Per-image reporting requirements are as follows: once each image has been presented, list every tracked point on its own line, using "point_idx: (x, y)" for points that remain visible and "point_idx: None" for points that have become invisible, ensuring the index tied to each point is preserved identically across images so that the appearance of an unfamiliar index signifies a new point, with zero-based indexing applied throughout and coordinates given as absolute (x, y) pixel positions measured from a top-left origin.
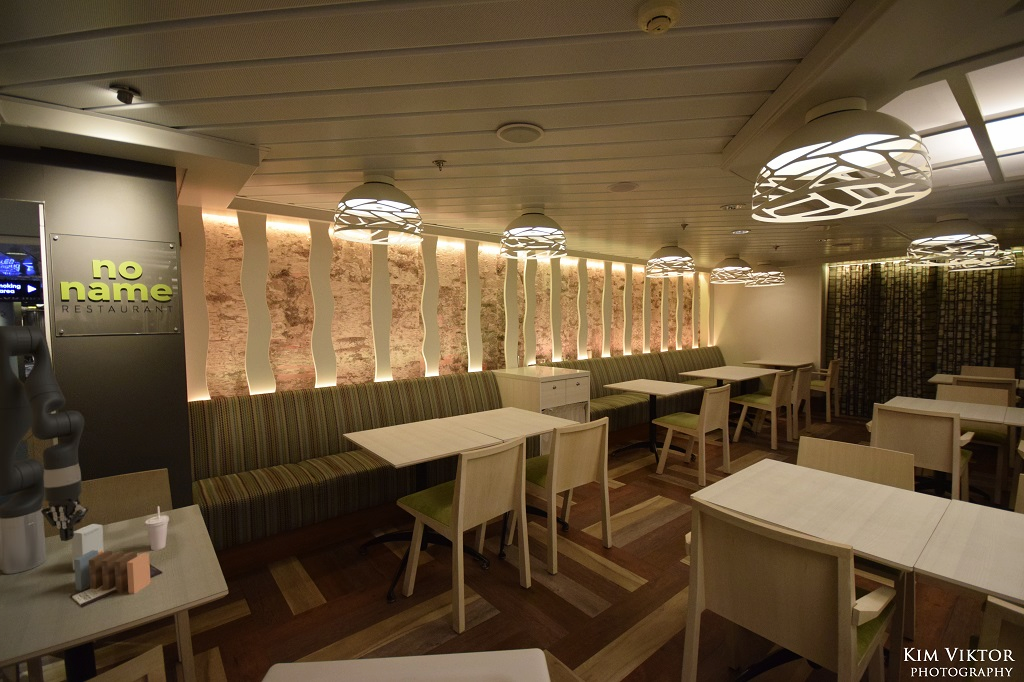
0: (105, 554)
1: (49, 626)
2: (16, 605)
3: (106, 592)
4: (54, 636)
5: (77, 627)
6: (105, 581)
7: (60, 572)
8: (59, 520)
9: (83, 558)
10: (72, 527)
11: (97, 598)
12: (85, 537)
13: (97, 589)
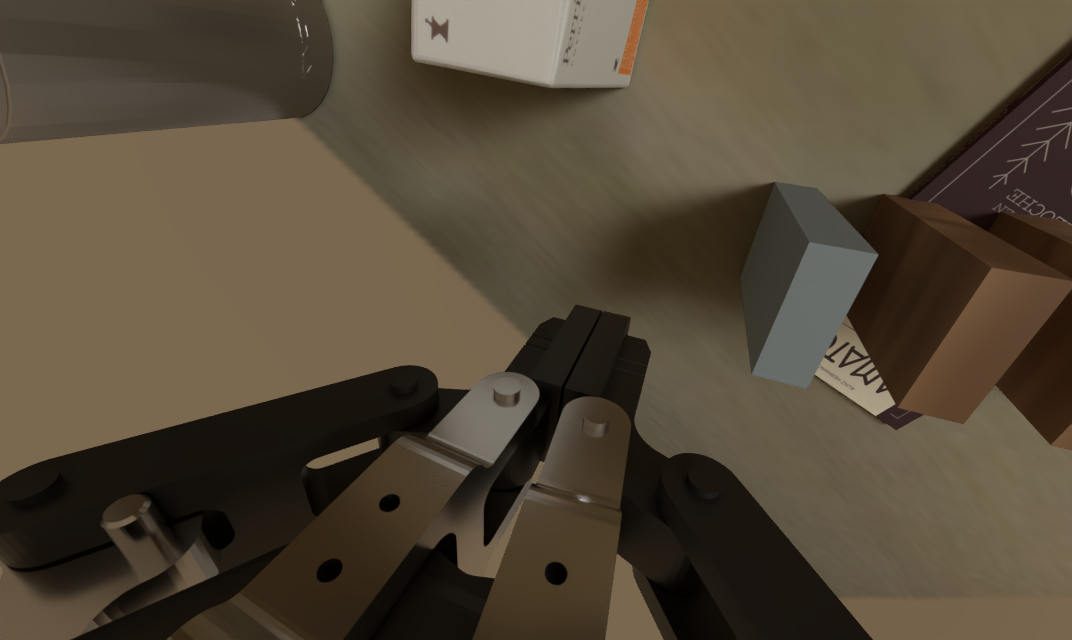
0: (1027, 340)
1: (823, 505)
2: None
3: None
4: (893, 562)
5: (966, 545)
6: None
7: (502, 97)
8: (480, 575)
9: (819, 364)
10: (633, 427)
11: None
12: (578, 47)
13: None
